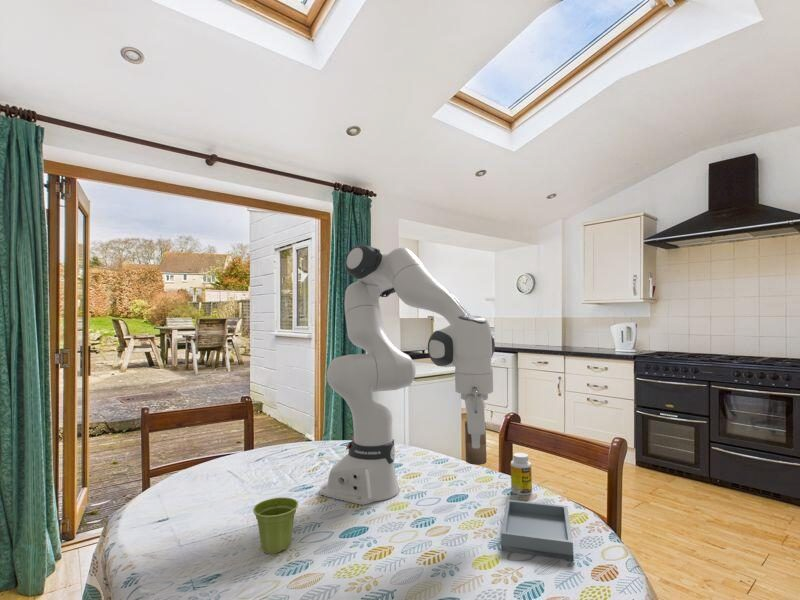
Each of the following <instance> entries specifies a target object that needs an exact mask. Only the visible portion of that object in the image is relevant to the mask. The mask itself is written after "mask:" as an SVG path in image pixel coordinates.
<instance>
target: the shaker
mask: <svg viewBox="0 0 800 600" xmlns="http://www.w3.org/2000/svg"><path fill="white" fill-rule="evenodd" d="M486 424H487V423H486V422H485V433H484V434H483V435H480V448H472V438H471V434H469V433H468V427H467V420H466V421H464V431H465V432H464V433H465V434H464V443H465V445H464V446H465V450H464V451H465V462H466V464H469V465H474V466H480V465H485V464H486V463H487V425H486Z"/></svg>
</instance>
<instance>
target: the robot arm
mask: <svg viewBox="0 0 800 600" xmlns="http://www.w3.org/2000/svg"><path fill="white" fill-rule="evenodd" d="M344 263H345V265H344V266H345V270H346V271H347V273H348V274H349V275H350V276H351V277H353V278H354V279H357V281H355V282H353V283H350V284H349V285H348V286H347V288H346V289H345V293H344V316H345V323H346V324H345V325H346V331H347V338H348V340H349V341H350V342H351V343H352V344H353V345H354V346H355V347H357V348H360V349H362V350H363V351H365V352H366V353H355V354H346V355H340V356H338V357H335V358H333V359H332V360H331V361H330V363H329V365H328V366H327V369H326V370H327V371H326V379H327V380H326V381H327V383H328V385H329V386H330V387H329V388H331V390H332V391H334V392H335V393H336V394H338V395H339V396H340V397H341V398H342V399H343V400H344V401H345V402H346V404H347V406H348V407H349V410H350V411H351V417H352V424H353V438H352V439H351V441H350V442H348V444H346V446H345V447H346V448H345V450H346V451H347V450H348V454H346V455H345V456H344V457H342V458H341V459H340V460H339V461H337V462H336V463H335V464H333V466H332V467H331V469H330V471H329V474H328V478H327V481H325V482H324V483H323V484H322V485H321V486H320V489H319V495H320V494H321V496H322V495H324V496H323V497H326V496H327V497H326V498H330V497H332V498H331V499H335V498H336V500H339V499H340V500H339V501H343V500H344V502H347V503H353V504H356V505H360V506H361V505H368V504H371V503H374V502H380V501H385V500H387V499H388V500H389V499H391V498H393V497H395V496H396V495H397V494H399V492H400V486H399V483H398V482H399V481H398V479H397V475H396V474H397V473H396V469H395V468H396V467H395V457H396V448H395V439H393V437H394V436H393V432H394V431H393V414H392V412H391V410H390V409H389V408H388V407H387V406H385V405H382V404H381V403H378V402H377V401H374V400H373V397H372V396H373V395H372V393H376V392H378V393H379V392H389V391H390V392H391V391H398V390H400V389H404V388H407V387H409V386H411V385H412V383H413V381H414V380H415V376H416V365H415V363H414V360H413V359H412V357H411V356H410V355H409V354H408V353H405V352H403V351H402V350H400V349H399V348H398V347H397V346H396V345H395V344H394V343H393V342H392V340H391V339H390V337H388V334H387V332H386V329H385V325H384V321H383V318H382V316H383V315H382V312H381V306H380V302H379V301H380V297H381V298H387V297H389V296H390V295H391V294H395V293H396V295H397V297H398V298H399V299H400V300H401V301H402V302H403V303H404V304H405V305H407V306H409V307H411V308H416V309H420V310H424V311H425V310H426V311H429V312H432V313H435V314H438V315H440V316H441V317H443V318H444V319H445V320H446V321H447V322H448V323H449V325H448V326H446V327H444V328H441V329H439V330H438V329H437V330H435V331H434V332H432V333H431V335H430V336H429V338H428V342H427V352H428V353H427V355H428V357H429V359H430V360H431V362H432V364H434V365H435V366H437V367H440V368H441V367H442V368H448V367H449V368H451V367H454V381H455V382H454V383H455V387H454V389H455V390H454V391H455V392H456V394H457V393H458V394H460V399H461V400H464V404H465V410H466V411H465V413H466V421H467V427H468V433H469V434H471V438H472V448H480V435H483V434H484V433H485V421H486V420H485V419H486V418H485V401H487V400H488V399H489V394H492V393H493V392H494V371H493V366H492V363H491V361H492V357H493V355H494V353H495V351H496V350H495V349H496V348H495V347H496V344H495V339H494V337H493V335H492V331H491V327H490V324H489V321H488V320H487V319H486V318H485V317H483V316H479V315H478V316H477V315H471V313H469V311H468V310H467V309H466V308H465V306H463V304H462V303H461V301H459V300H458V298H457V297H456V296H455V295H454V294H453V293H452V292H451V291H450V290H449V289H447V288H446V287H444V286H443V285H442V284H441V283H440V282H438V281H437V279H436V278H434V277H433V276H432V274H431V273H430V272H429V271H428V269H427V268H426V266H425V265H424V263H423V262H422V260H421V259H420V258H419V257H418V256H417V255H416V254H415V253H414V252H413V251H412V250H410V249H409V248H407V247H397V248H395V249H393V250H392V251H390V252H389V253H387V254H386V253H384V252H382V251H381V250H380V249H378V248H375V247H373V246H370V245H367V244H366V245H365V244H358V245H355V246H354V247H352V248H351V249H350V250H349V251H348V253H347V254H346V258H345V262H344Z"/></svg>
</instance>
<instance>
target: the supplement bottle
mask: <svg viewBox="0 0 800 600" xmlns="http://www.w3.org/2000/svg"><path fill="white" fill-rule="evenodd" d="M512 459H513V460H512ZM512 459H511V461H510V482H511V483H510V486H511V487H510V488H511V492H512V493H513V494H515V495H518V496H529V495H531V494H532V492H533V491H532V490H533V484H532V483H533V482H532V481H533V480H532V478H533V477H532V463H531V462H530V461H529V455H528V453H524V452H515V453H513V458H512Z"/></svg>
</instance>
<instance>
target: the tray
mask: <svg viewBox="0 0 800 600" xmlns="http://www.w3.org/2000/svg"><path fill="white" fill-rule="evenodd" d="M505 501H506V502H505V508H504V514H503V520H502V527H501V533H500V534H501V535H500V540H501V542H500V543H501V551H504V552H511V553H518V554H525V555H533V556H539V557H547V558H551V559H552V558H553V559H559V560H561V559H562V560H566V561H567V560H568V561H574V543H573V542H574V541H573V535H572V529H571V523H570V514H569V510H568V505H559V504H551V503H541V502H533V501H531V502H530V501H522V500H514V499H512V500H511V499H506V500H505Z"/></svg>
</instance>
